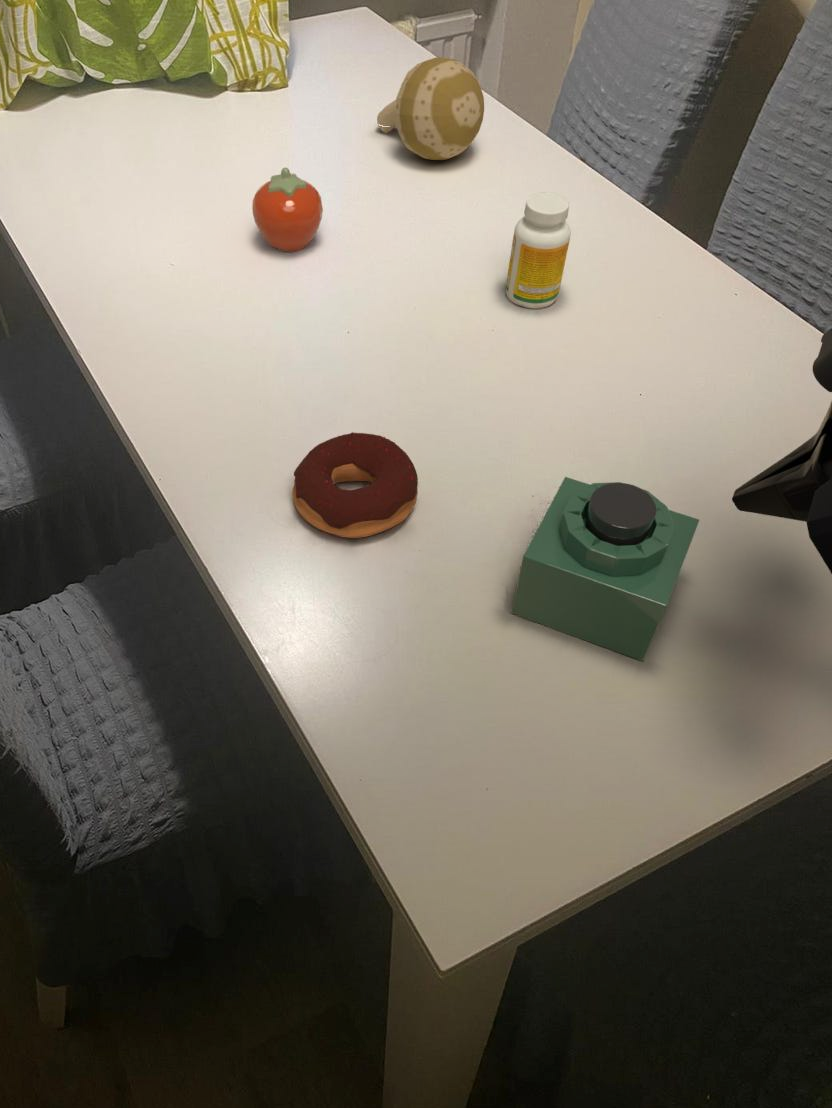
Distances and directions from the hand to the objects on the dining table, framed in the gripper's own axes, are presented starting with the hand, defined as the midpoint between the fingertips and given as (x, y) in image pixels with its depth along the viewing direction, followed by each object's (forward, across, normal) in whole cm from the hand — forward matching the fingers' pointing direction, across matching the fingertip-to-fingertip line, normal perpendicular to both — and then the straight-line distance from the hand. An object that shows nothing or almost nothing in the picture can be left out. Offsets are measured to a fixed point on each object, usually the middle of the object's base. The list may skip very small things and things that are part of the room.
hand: (735, 500), depth 58 cm
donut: (+28, -1, -10) cm, 30 cm away
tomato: (+45, -34, -27) cm, 63 cm away
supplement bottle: (+26, -36, -8) cm, 45 cm away
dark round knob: (+8, 0, -1) cm, 8 cm away
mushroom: (+42, -60, -24) cm, 77 cm away
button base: (+13, 0, +4) cm, 14 cm away
